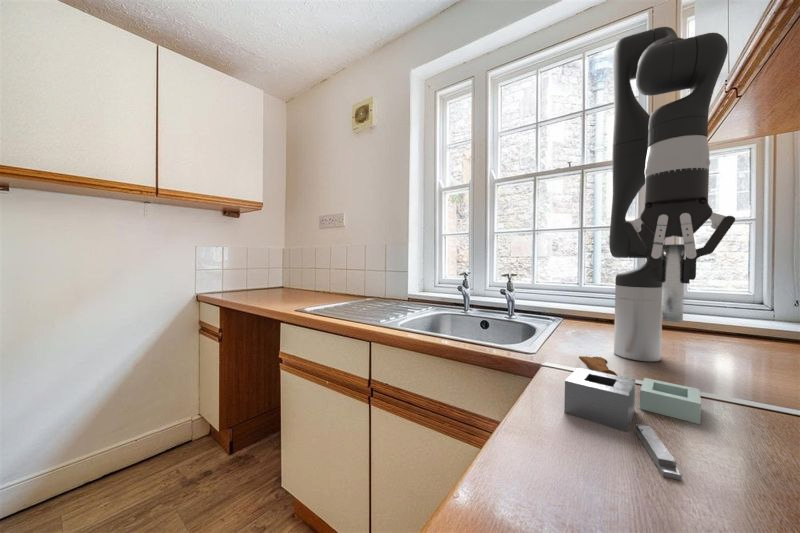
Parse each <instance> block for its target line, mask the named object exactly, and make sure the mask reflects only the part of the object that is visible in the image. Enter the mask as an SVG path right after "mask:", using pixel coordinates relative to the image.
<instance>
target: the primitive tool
mask: <svg viewBox="0 0 800 533" xmlns="http://www.w3.org/2000/svg"><path fill="white" fill-rule="evenodd" d="M578 359H579V360H581V362H583V363H584V364H585V365H586V366H587V367H588V368H589V370H593V371H598V372H602V373H607V374H612V375H617V376H619V375H618V374H617V373H616V372H615V371H614V370H610V369H609V367H608V366H607V363H608V360H607V359H605V358H603V357H601V356H592V357H591V356H587V355H586V356H584V355H583V356H581V355H579V356H578Z"/></svg>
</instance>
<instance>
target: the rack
mask: <svg viewBox="0 0 800 533" xmlns="http://www.w3.org/2000/svg"><path fill="white" fill-rule="evenodd" d="M700 392H701V391H700V388H695V387H692V386H687V385H682V384H676V383H671V382H667V381H662V380H658V379H652V378H647V377H643V381H642V383H641V387H640V390H639V410H643V411H647V412H650V413H654V414H659V415H662V416H666V417H670V418H674V419H678V420H681V421H686V422H688V423H689V422H690V423H693V424H697V425H701V414H702V401H701V400H702V399H701V393H700Z"/></svg>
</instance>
